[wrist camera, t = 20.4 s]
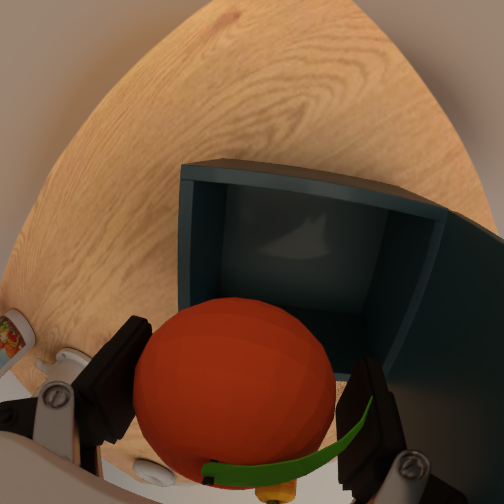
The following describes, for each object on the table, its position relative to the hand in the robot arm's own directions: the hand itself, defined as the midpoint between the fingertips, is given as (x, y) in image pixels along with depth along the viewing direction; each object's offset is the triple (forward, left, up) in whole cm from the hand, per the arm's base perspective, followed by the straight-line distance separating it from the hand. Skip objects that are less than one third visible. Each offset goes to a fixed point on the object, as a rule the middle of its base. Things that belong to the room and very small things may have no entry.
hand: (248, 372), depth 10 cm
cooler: (+2, 0, -15) cm, 15 cm away
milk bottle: (-41, -22, -15) cm, 49 cm away
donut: (-18, -56, -15) cm, 61 cm away
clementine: (0, 0, -3) cm, 3 cm away
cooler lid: (+8, 0, +2) cm, 8 cm away
